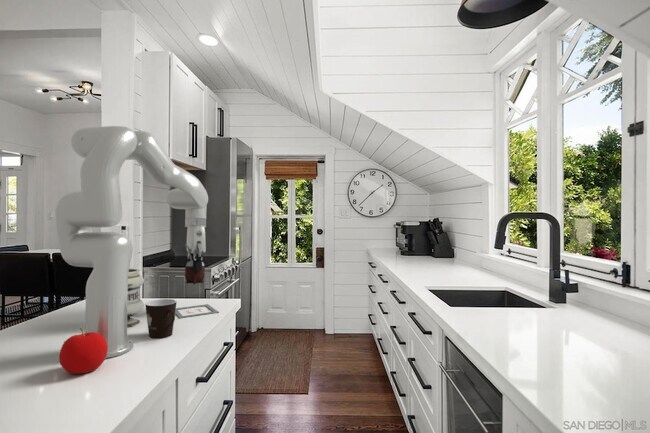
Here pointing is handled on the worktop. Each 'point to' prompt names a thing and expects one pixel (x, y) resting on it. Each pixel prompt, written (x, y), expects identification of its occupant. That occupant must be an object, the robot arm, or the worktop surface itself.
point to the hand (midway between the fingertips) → (194, 269)
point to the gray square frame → (180, 316)
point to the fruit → (83, 352)
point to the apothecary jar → (134, 296)
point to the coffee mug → (160, 317)
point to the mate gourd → (193, 275)
